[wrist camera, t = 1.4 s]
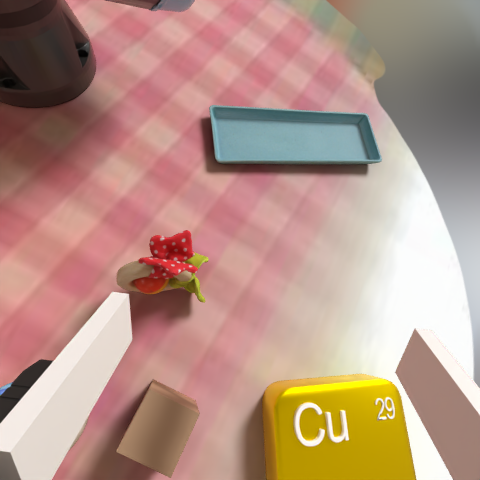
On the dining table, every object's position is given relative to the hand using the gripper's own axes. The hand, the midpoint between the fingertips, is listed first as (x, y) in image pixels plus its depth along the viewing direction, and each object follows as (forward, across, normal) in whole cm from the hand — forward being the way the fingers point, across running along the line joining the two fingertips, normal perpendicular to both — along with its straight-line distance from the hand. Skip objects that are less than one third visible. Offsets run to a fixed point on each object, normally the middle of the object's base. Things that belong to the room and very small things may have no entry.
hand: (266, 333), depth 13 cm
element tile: (+10, +10, -24) cm, 28 cm away
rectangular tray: (+36, +4, +6) cm, 37 cm away
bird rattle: (+17, -10, -9) cm, 22 cm away
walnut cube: (+8, -8, -19) cm, 22 cm away
